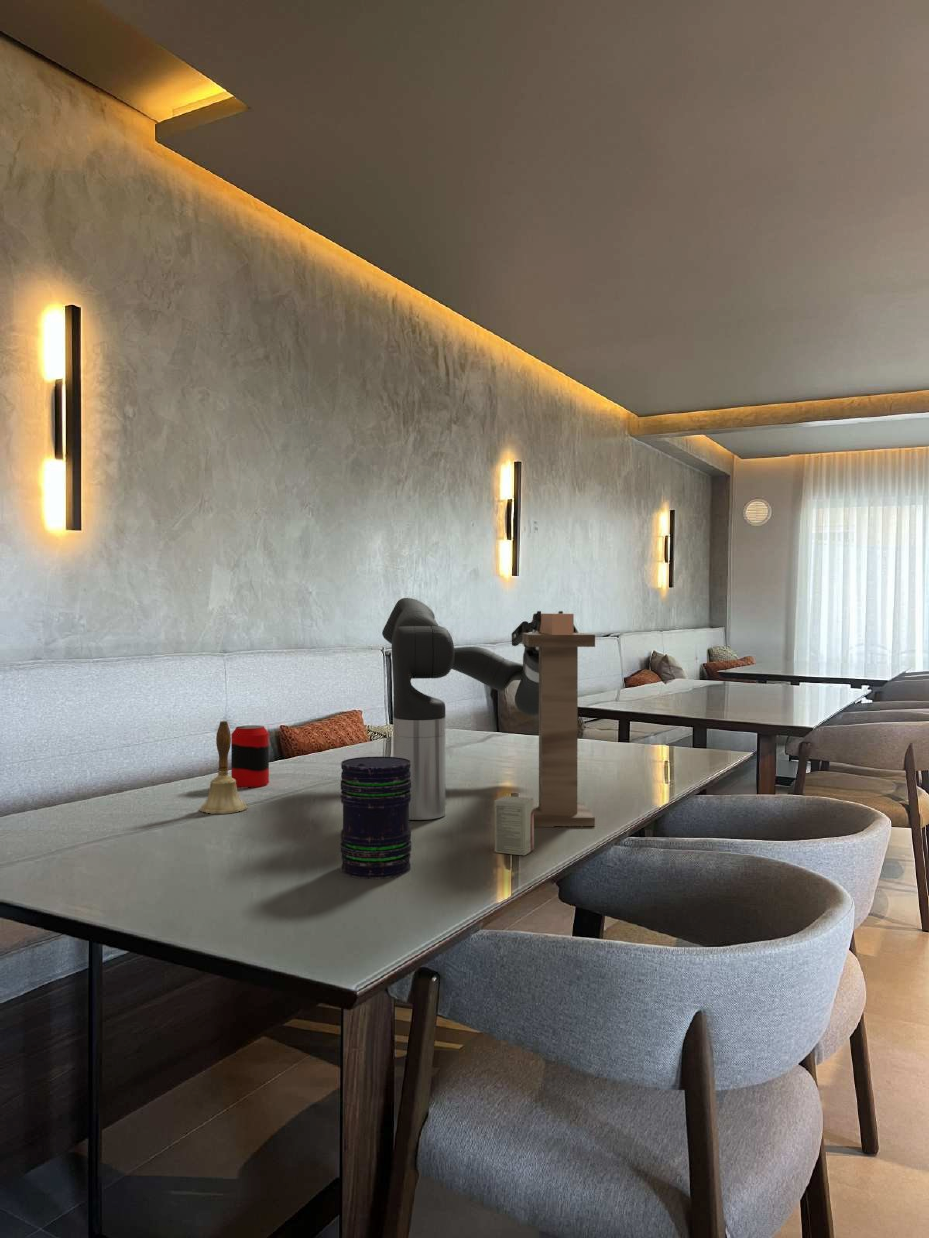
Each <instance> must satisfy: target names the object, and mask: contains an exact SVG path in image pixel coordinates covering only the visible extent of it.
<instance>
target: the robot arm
mask: <svg viewBox="0 0 929 1238" xmlns="http://www.w3.org/2000/svg"><path fill="white" fill-rule="evenodd" d="M541 614H542V611H541V610H536V612H535V613H533V615H532V620H531V621H530V622H528V621H526V620H525V621H524V620H523V621H521V623H520V624H519V625H518V626H517V627H516V628H515V629H514V630H513V631H512V633H511V646H512V647H517V646H519V645H520V644H521V645H523V647H524V650H523V655H522V663H520V662H519V663H518V662H516V661H511V660H509V659H508V658H507V659H506V658H505V657H503V656H501V655H500V654H497V653H495V652H494V651H491V650H489V649H487V648H484V647H481V646H480V647H478V646H463V647H455V646H454V641H453V637H452V634H451V633H450V631H449V630H448V629H447V627H444V626H440V625H439V624H438V623H437V621H436V619H435V618H436V617H435V614H434V611H433V610H432V609H431V608H430V607H429V606H428V605H427V604H425V603H424V602H422V601H421V600H418V599H416V598H415V599H414V598H412V597H411V598H410V597H403V598H400V599H399V600H398V601H396V603H395V605H394V606H393V609H392V611H391V612H390V615H389V616H388V619H387V621H386V623H385V625H384V627H383V629H382V632H381V634H382V637H383V638H384V640H385V641H387V642H389V644H390V645H391V664H392V665H391V666H392V683H393V684H392V686H393V687H392V688H393V691H392V692H393V698H392V699H393V702H392V703H393V706H392V710H393V712H392V717H393V718H392V722H393V725H392V732H393V733H392V757H398V758H404V759H408V760H410V761H411V767H410V772H411V777H410V779H411V789H410V790H411V801H410V802H409V821H411V820H414V821H422V820H425V821H427V820H434V819H439V818H442V817H444V816H446V805H447V804H446V803H447V801H446V704H445V702H444V700H441V699H439V698H436V697H433V696H431V695H427V694H426V693H423V692H421V691H419V690H418V689H416V687H414V686H413V685H412V681H411V680H412V679H416V680H417V679H421V680H422V679H440V678H444V677H447V675H449V673H450V672H451V670H454V671H456V672H459V673H461V674H462V675H466V676H468V677H470V678H472V679H474V680H476V681H478V682H480V683H482V684H484V685H485V686H488V687H490V688H491V689H493V690H496V691H498V692H503V691H505V690H506V689H507V688H508V687H509V685H510V684H511V683H512V682H513V681H519V684H518V686H517V689H516V691H515V694H514V703H515V707H516V708H517V709H518V711H519V712H520V713H522V714H524V715H525V716H527V717H539V647H528V646H526V645H524V644H522V633H541V632H539V630H540V624H541ZM557 614H564V612H563V610H559V611H558V612H557ZM574 633H579V631H578V629H577V628H576V626H575V625H574Z"/></svg>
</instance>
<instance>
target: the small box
mask: <svg viewBox="0 0 929 1238" xmlns="http://www.w3.org/2000/svg"><path fill="white" fill-rule="evenodd" d="M534 803H535V801H534V797H521V796H509V795H503V796H501V797H499V798H497V799H495V800H493V812H494V813H493V814H494V815H493V816H494V817H493V818H494V819H493V821H494V822H493V825H494V827H493V828H494V833H493V834H494V835H493V836H494V839H493V840H494V853H499V854H510V855H514V856H515V855H517V856H518V855H519V856H527V855H528V854H529V853H530V852H533V850H534V849H535V827H534Z"/></svg>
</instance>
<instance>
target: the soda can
mask: <svg viewBox="0 0 929 1238" xmlns="http://www.w3.org/2000/svg"><path fill="white" fill-rule="evenodd" d="M230 734H231V745H230V749H231V752H230V753H231V755H230V757H231V759H230V760H231V766H230V767H231V772H230V773H231V776H230V777H231V778H234V779H235V780H236V786H237V788H238V787H257V788H262V787H261V786H263V787H265V786H264V785H266V786H268V784H269V782H270V761H269V760H270V741H269V739H270V735H269V734H270V733H269V731H268V730H267V728H266V727H265V726H264V725H252V724H251V725H240V726H239V725H238V726H236V728H235V729H233V731H232V733H230Z"/></svg>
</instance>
